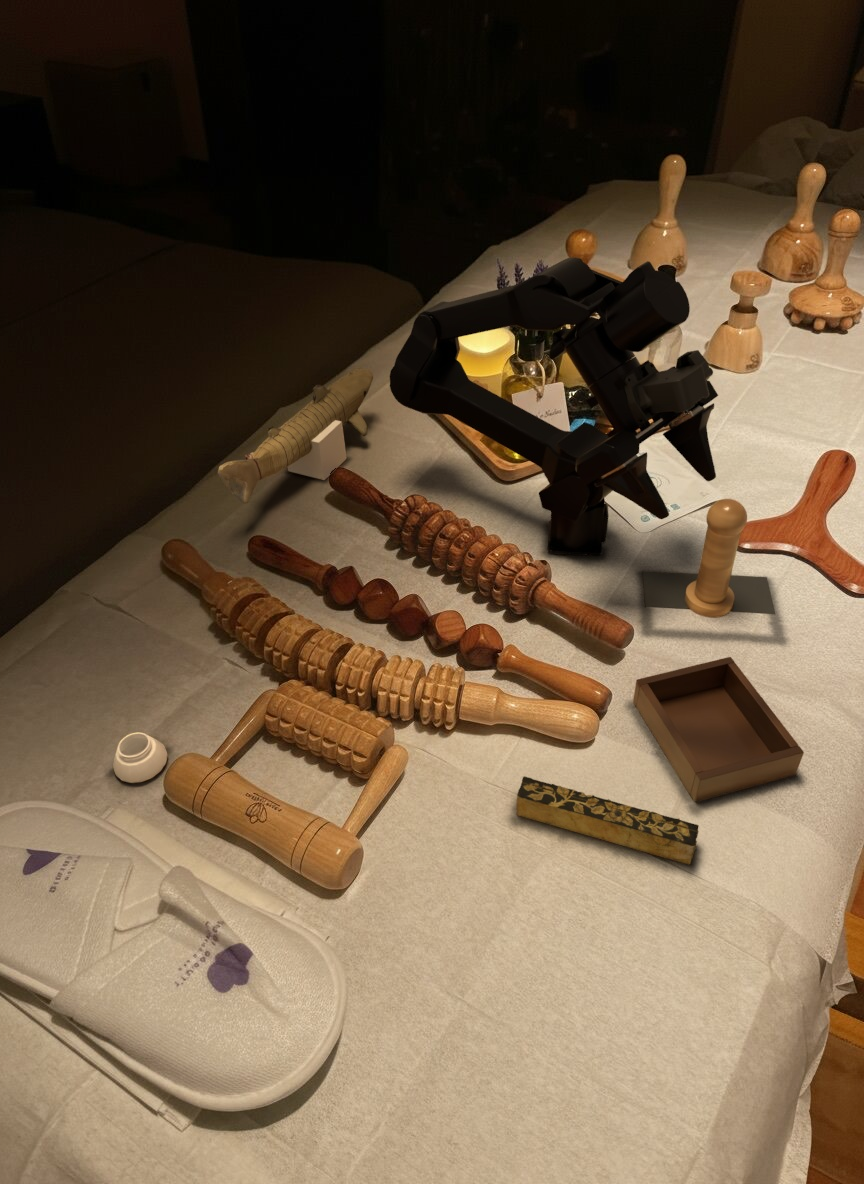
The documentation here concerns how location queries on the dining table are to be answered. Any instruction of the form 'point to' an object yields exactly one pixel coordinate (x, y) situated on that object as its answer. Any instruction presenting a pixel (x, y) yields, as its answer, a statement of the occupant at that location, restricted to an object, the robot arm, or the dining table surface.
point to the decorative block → (607, 820)
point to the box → (716, 729)
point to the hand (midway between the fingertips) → (689, 498)
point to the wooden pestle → (717, 560)
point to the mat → (672, 585)
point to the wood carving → (305, 437)
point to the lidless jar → (139, 758)
